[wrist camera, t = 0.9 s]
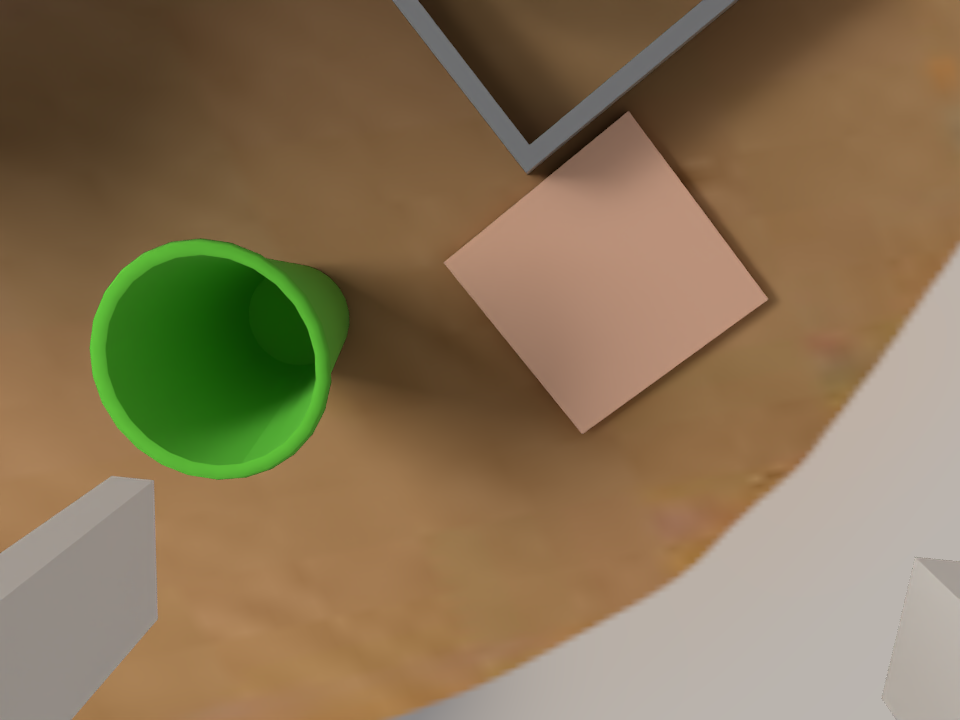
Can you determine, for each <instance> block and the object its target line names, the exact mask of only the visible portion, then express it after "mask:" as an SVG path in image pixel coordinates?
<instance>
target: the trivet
mask: <svg viewBox="0 0 960 720" xmlns="http://www.w3.org/2000/svg"><path fill="white" fill-rule="evenodd" d="M444 264H445V265H446V266H447V268H448V269H449V270H450V271H451V273H452V274H453V275H454V276H455V277H456V279H457V280H458V281H459V282H460V284H461V285H462V286H463V287H464V289H465V290H466V291H467V292H468V294H469V295H470V296H471V297H472V298H473V300H474V301H475V302H476V303H477V305H478V306H479V307H480V308H481V310H482V311H483V312H484V313H485V315H486V316H487V317H488V318H489V320H490V321H491V322H492V323H493V324H494V326H495V327H496V328H497V329H498V331H499V332H500V333H501V334H502V336H503V337H504V338H505V339H506V341H507V342H508V343H509V344H510V345H511V347H512V348H513V349H514V350H515V352H516V353H517V354H518V355H519V357H520V358H521V359H522V360H523V362H524V363H525V364H526V365H527V367H528V368H529V369H530V370H531V371H532V373H533V374H534V375H535V376H536V378H537V379H538V380H539V381H540V383H541V384H542V385H543V386H544V388H545V389H546V390H547V391H548V392H549V394H550V395H551V396H552V397H553V399H554V400H555V401H556V402H557V404H558V405H559V406H560V407H561V409H562V410H563V411H564V412H565V413H566V415H567V416H568V417H569V418H570V420H571V421H572V422H573V423H574V425H575V426H576V427H577V428H578V430H579V431H580V432H581V433H582V434H583V433H585V432H586V431H587V430H589V429H590V428H591V427H593V426H594V425H596V424H597V423H598V422H600V421H601V420H602V419H604V418H605V417H607V416H608V415H609V414H611V413H612V412H614V411H615V410H616V409H618V408H619V407H620V406H622V405H623V404H625V403H626V402H627V401H629V400H630V399H631V398H633V397H634V396H636V395H637V394H638V393H640V392H641V391H642V390H644V389H645V388H647V387H648V386H649V385H651V384H652V383H654V382H655V381H656V380H658V379H659V378H660V377H662V376H663V375H665V374H666V373H667V372H669V371H670V370H671V369H673V368H674V367H676V366H677V365H678V364H680V363H681V362H683V361H684V360H685V359H687V358H688V357H689V356H691V355H692V354H694V353H695V352H696V351H698V350H699V349H700V348H702V347H703V346H705V345H706V344H707V343H709V342H710V341H711V340H713V339H714V338H716V337H717V336H718V335H720V334H721V333H723V332H724V331H725V330H727V329H728V328H729V327H731V326H732V325H734V324H735V323H736V322H738V321H739V320H740V319H742V318H743V317H745V316H746V315H747V314H749V313H750V312H751V311H753V310H754V309H756V308H757V307H758V306H760V305H761V304H763V303H764V302H765V301H767V300H768V298H767V297H766V295H765V294H764V293H763V291H762V290H761V289H760V287H759V286H758V285H757V283H756V282H755V280H754V279H753V278H752V276H751V275H750V274H749V272H748V271H747V270H746V268H745V267H744V266H743V264H742V263H741V262H740V260H739V259H738V258H737V256H736V255H735V254H734V252H733V251H732V250H731V248H730V247H729V246H728V244H727V243H726V241H725V240H724V239H723V237H722V236H721V235H720V233H719V232H718V231H717V229H716V228H715V227H714V225H713V224H712V223H711V221H710V220H709V219H708V217H707V216H706V215H705V213H704V212H703V211H702V209H701V208H700V206H699V205H698V204H697V202H696V201H695V200H694V198H693V197H692V196H691V194H690V193H689V192H688V190H687V189H686V188H685V186H684V185H683V184H682V182H681V181H680V180H679V178H678V177H677V176H676V174H675V173H674V172H673V170H672V169H671V167H670V166H669V165H668V163H667V162H666V161H665V159H664V158H663V157H662V155H661V154H660V153H659V151H658V150H657V149H656V147H655V146H654V145H653V143H652V142H651V141H650V139H649V138H648V137H647V135H646V134H645V132H644V131H643V130H642V128H641V127H640V126H639V124H638V123H637V122H636V120H635V119H634V118H633V116H632V115H631V114H630V112H629V111H628V112H627V113H625V114H624V115H623V116H622V117H621V118H619V119H618V120H617V121H616V122H614V123H613V124H612V125H611V126H610V127H608V128H607V129H606V130H605V131H604V132H602V133H601V134H600V135H599V136H597V137H596V138H595V139H594V140H593V141H591V142H590V143H589V144H588V145H586V146H585V147H584V148H583V149H582V150H580V151H579V152H578V153H577V154H575V155H574V156H573V157H572V158H571V159H569V160H568V161H567V162H566V163H564V164H563V165H562V166H561V167H560V168H558V169H557V170H556V171H555V172H553V173H552V174H551V175H550V176H549V177H547V178H546V179H545V180H544V181H543V182H541V183H540V184H539V185H538V186H536V187H535V188H534V189H533V190H532V191H530V192H529V193H528V194H527V195H525V196H524V197H523V198H522V199H521V200H519V201H518V202H517V203H516V204H514V205H513V206H512V207H511V208H510V209H508V210H507V211H506V212H505V213H503V214H502V215H501V216H500V217H499V218H497V219H496V220H495V221H494V222H492V223H491V224H490V225H489V226H488V227H486V228H485V229H484V230H483V231H481V232H480V233H479V234H478V235H477V236H475V237H474V238H473V239H472V240H471V241H469V242H468V243H467V244H466V245H464V246H463V247H462V248H461V249H460V250H458V251H457V252H456V253H455V254H453V255H452V256H451V257H450V258H449V259H447V260H446V261H445V262H444Z"/></svg>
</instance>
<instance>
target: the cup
mask: <svg viewBox="0 0 960 720" xmlns="http://www.w3.org/2000/svg"><path fill="white" fill-rule="evenodd" d="M348 329H349V310H348V306H347V303H346V299H345V297H344V296H343V294H342V292H341V290H340V288H339V287H338V286H337V285H336V284H335V283H334V281H333V280H332V279H331V278H330V277H328V276H327V275H325V274H324V273H322V272H321V271H319V270H317V269H314V268H312V267H309V266H305V265H300V264H294V263H289V262H283V261H278V260H272V259H267V258H264V257H263V256H262V255H260V254H258V253H255V252H253V251H250V250H248V249H245V248H243V247H240V246H238V245H235V244H233V243H229V242H222V241H215V240H208V239H192V240H183V241H174V242H170V243H167V244H165V245H162V246H159V247H157V248H154V249H152V250H149V251H147V252H144V253H143V254H142V255H140V256H139V257H138V258H136V259H135V260H134V261H132V262H131V263H130V264H128V265H127V266H126V267H124V268H123V269H122V270H121V271H120V273H119V274H118V275H117V276H116V278H115V279H114V280H113V282H112V283H111V284H110V286H109V287H108V288H107V290H106V291H105V293H104V295H103V297H102V300H101V302H100V305H99V307H98V310H97V312H96V315H95V317H94V320H93V326H92V334H91V341H90V355H91V364H92V373H93V378H94V381H95V384H96V387H97V389H98V392H99V395H100V398H101V401H102V403H103V405H104V407H105V408H106V410H107V411H108V413H109V415H110V416H111V418H112V419H113V421H114V423H115V424H116V426H117V427H118V429H119V430H120V431H121V432H122V433H123V434H124V435H125V436H126V437H127V438H128V439H129V440H130V441H131V442H132V443H133V444H134V445H135V446H136V447H137V448H138V449H139V450H141V451H142V452H144V453H145V454H147V455H148V456H150V457H151V458H153V459H154V460H156V461H157V462H159V463H160V464H162V465H164V466H167V467H169V468H172V469H174V470H177V471H179V472H182V473H184V474H187V475H192V476H198V477H205V478H211V479H218V480H220V479H233V478H246V477H249V476H252V475H255V474H258V473H261V472H264V471H267V470H270V469H272V468H274V467H275V466H277V465H279V464H280V463H282V462H283V461H285V460H286V459H288V458H289V457H291V456H292V455H294V454H295V453H296V452H297V451H298V450H299V449H300V447H301V446H302V445H303V444H304V443H305V442H306V441H307V440H308V439H309V437H310V436H311V435H312V434H313V432H314V430H315V428H316V426H317V424H318V422H319V421H320V419H321V417H322V415H323V413H324V411H325V408H326V403H327V399H328V394H329V389H330V385H331V372H332V370H333V368H334V365H335V363H336V361H337V358H338V356H339V354H340V351H341V349H342V347H343V344H344V342H345V340H346V337H347V333H348Z"/></svg>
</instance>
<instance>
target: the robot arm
mask: <svg viewBox="0 0 960 720" xmlns="http://www.w3.org/2000/svg"><path fill="white" fill-rule="evenodd" d="M157 619H158V613H157V577H156V541H155V505H154V480H146V479H136V478H126V477H116V476H111V477H110V478H108V479H107V480H105V481H104V482H102V483H101V484H99V485H98V486H97V487H95V488H94V489H92V490H91V491H89V492H88V493H86V494H85V495H84V496H82V497H81V498H79V499H78V500H76V501H75V502H74V503H72V504H71V505H69V506H68V507H66V508H65V509H63V510H62V511H61V512H59V513H58V514H56V515H55V516H53V517H52V518H50V519H49V520H48V521H46V522H45V523H43V524H42V525H40V526H39V527H38V528H36V529H35V530H33V531H32V532H30V533H29V534H27V535H26V536H25V537H23V538H22V539H20V540H19V541H17V542H16V543H14V544H13V545H12V546H10V547H9V548H7V549H6V550H4V551H3V552H2V553H0V720H71V719H72V718H73V717H74V716H75V715H76V714H77V712H78V711H79V710H80V709H81V708H82V707H83V705H84V704H85V703H86V702H87V701H88V700H89V698H90V697H91V696H92V695H93V694H94V693H95V691H96V690H97V689H98V688H99V687H100V686H101V684H102V683H103V682H104V681H105V680H106V679H107V678H108V676H109V675H110V674H111V673H112V672H113V671H114V669H115V668H116V667H117V666H118V665H119V664H120V662H121V661H122V660H123V659H124V658H125V657H126V655H127V654H128V653H129V652H130V651H131V650H132V648H133V647H134V646H135V645H136V644H137V643H138V641H139V640H140V639H141V638H142V637H143V636H144V634H145V633H146V632H147V631H148V630H149V629H150V627H151V626H152V625H153V624H154V623H155V622H156V620H157ZM882 699H883V701H884V703H885V704H886V706H887V707H888V709H889V710H890V711H891V713H892V714H893V716H894V717H895V719H896V720H960V561H950V560H940V559H930V558H920V557H915V560H914V564H913V568H912V572H911V576H910V581H909V585H908V589H907V593H906V598H905V602H904V606H903V611H902V615H901V619H900V623H899V627H898V631H897V636H896V640H895V644H894V649H893V652H892V657H891V661H890V666H889V669H888V674H887V678H886V682H885V686H884V691H883V695H882Z"/></svg>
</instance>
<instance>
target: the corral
mask: <svg viewBox="0 0 960 720" xmlns="http://www.w3.org/2000/svg"><path fill="white" fill-rule="evenodd" d="M392 1H393V2H394V3H395V5H396V6H397V7H398V8H399V10H400V11H401V12H402V14H403V15H404V16H405V17H406V19H407V20H408V21H409V23H410V24H411V25H412V27H413V28H414V29H415V30H416V32H417V33H418V34H419V36H420V37H421V38H422V39H423V41H424V42H425V43H426V45H427V46H428V47H429V48H430V50H431V51H432V52H433V54H434V55H435V56H436V57H437V59H438V60H439V61H440V63H441V64H442V65H443V67H444V68H445V69H446V70H447V72H448V73H449V74H450V76H451V77H452V78H453V79H454V81H455V82H456V83H457V85H458V86H459V87H460V88H461V90H462V91H463V92H464V94H465V95H466V96H467V97H468V99H469V100H470V101H471V103H472V104H473V105H474V107H475V108H476V109H477V110H478V112H479V113H480V114H481V116H482V117H483V118H484V119H485V121H486V122H487V123H488V125H489V126H490V127H491V128H492V130H493V131H494V132H495V134H496V135H497V136H498V137H499V139H500V140H501V141H502V143H503V144H504V145H505V146H506V148H507V149H508V150H509V152H510V153H511V154H512V156H513V157H514V158H515V159H516V161H517V162H518V163H519V165H520V166H521V167H522V168H523V170H524V171H525V172H526V174H527V175H528V174H529V173H530V172H531V171H533V170H534V169H535V168H536V167H537V166H539V165H540V164H541V163H542V162H543V161H545V160H546V159H547V158H548V157H549V156H551V155H552V154H553V153H554V152H556V151H557V150H558V149H559V148H560V147H562V146H563V145H564V144H565V143H566V142H568V141H569V140H570V139H571V138H572V137H574V136H575V135H576V134H577V133H579V132H580V131H581V130H582V129H583V128H585V127H586V126H587V125H588V124H589V123H591V122H592V121H593V120H594V119H595V118H597V117H598V116H599V115H600V114H602V113H603V112H604V111H605V110H606V109H608V108H609V107H610V106H611V105H612V104H614V103H615V102H616V101H617V100H618V99H620V98H621V97H622V96H623V95H625V94H626V93H627V92H628V91H629V90H631V89H632V88H633V87H634V86H635V85H637V84H638V83H639V82H640V81H642V80H643V79H644V78H645V77H646V76H648V75H649V74H650V73H651V72H652V71H654V70H655V69H656V68H657V67H658V66H660V65H661V64H662V63H663V62H665V61H666V60H667V59H668V58H669V57H671V56H672V55H673V54H674V53H675V52H677V51H678V50H679V49H680V48H681V47H683V46H684V45H685V44H686V43H688V42H689V41H690V40H691V39H692V38H694V37H695V36H696V35H697V34H698V33H700V32H701V31H702V30H703V29H704V28H706V27H707V26H708V25H709V24H711V23H712V22H713V21H714V20H715V19H717V18H718V17H719V16H720V15H721V14H723V13H724V12H725V11H726V10H727V9H729V8H730V7H731V6H732V5H734V4H735V3H736V2H737V1H738V0H703V1H701V2H700V3H699V4H698V5H697V6H695V7H694V8H693V9H692V10H691V11H689V12H688V13H687V14H686V15H685V16H683V17H682V18H681V19H680V20H679V21H677V22H676V23H675V24H674V25H673V26H671V27H670V28H669V29H668V30H667V31H665V32H664V33H663V34H662V35H661V36H659V37H658V38H657V39H656V40H655V41H653V42H652V43H651V44H650V45H649V46H647V47H646V48H645V49H644V50H643V51H642V52H640V53H639V54H638V55H637V56H636V57H634V58H633V59H632V60H631V61H630V62H628V63H627V64H626V65H625V66H624V67H622V68H621V69H620V70H619V71H618V72H616V73H615V74H614V75H613V76H612V77H610V78H609V79H608V80H607V81H606V82H604V83H603V84H602V85H601V86H600V87H598V88H597V89H596V90H595V91H594V92H592V93H591V94H590V95H589V96H588V97H586V98H585V99H584V100H583V101H582V102H580V103H579V104H578V105H577V106H576V107H574V108H573V109H572V110H571V111H570V112H568V113H567V114H566V115H565V116H564V117H563V118H561V119H560V120H559V121H558V122H557V123H555V124H554V125H553V126H552V127H551V128H549V129H548V130H547V131H546V132H545V133H543V134H542V135H541V136H540V137H539V138H537V139H536V140H535V141H534V142H533V143H531V144H530V145H529V144H528V143H527V141H526V140H525V139H524V137H523V136H522V135H521V134H520V132H519V131H518V130H517V128H516V127H515V126H514V124H513V123H512V122H511V121H510V119H509V118H508V117H507V115H506V114H505V113H504V111H503V110H502V109H501V108H500V106H499V105H498V104H497V102H496V101H495V100H494V99H493V97H492V96H491V95H490V93H489V92H488V91H487V89H486V88H485V87H484V86H483V84H482V83H481V82H480V80H479V79H478V78H477V76H476V75H475V74H474V73H473V71H472V70H471V69H470V67H469V66H468V65H467V63H466V62H465V61H464V60H463V58H462V57H461V56H460V54H459V53H458V52H457V50H456V49H455V48H454V47H453V45H452V44H451V43H450V41H449V40H448V39H447V37H446V36H445V35H444V34H443V32H442V31H441V30H440V28H439V27H438V26H437V24H436V23H435V22H434V21H433V19H432V18H431V17H430V15H429V14H428V13H427V11H426V10H425V9H424V8H423V6H422V5H421V4H420V2H419V1H418V0H392Z"/></svg>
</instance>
